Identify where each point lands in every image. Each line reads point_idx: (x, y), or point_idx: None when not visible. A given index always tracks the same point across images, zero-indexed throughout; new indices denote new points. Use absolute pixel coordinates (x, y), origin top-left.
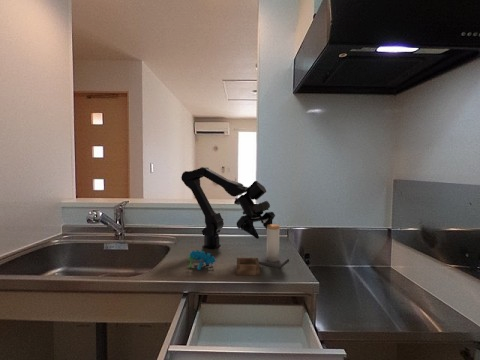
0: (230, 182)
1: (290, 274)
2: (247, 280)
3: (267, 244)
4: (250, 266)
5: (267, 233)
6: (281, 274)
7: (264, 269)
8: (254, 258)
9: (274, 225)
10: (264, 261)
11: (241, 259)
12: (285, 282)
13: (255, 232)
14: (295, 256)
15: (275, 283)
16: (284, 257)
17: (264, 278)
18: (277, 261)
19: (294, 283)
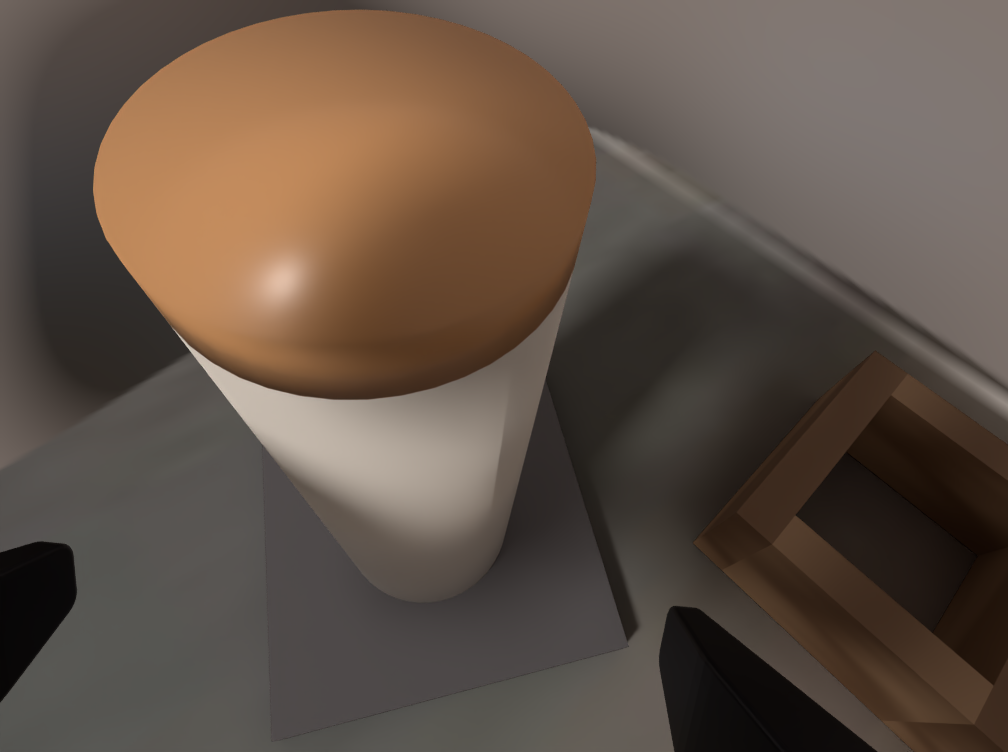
0: None
1: (583, 248)
2: (968, 408)
3: (516, 485)
4: (959, 418)
5: (535, 392)
6: (640, 291)
7: (682, 450)
8: (793, 534)
9: (308, 129)
10: (560, 550)
11: (964, 666)
12: (723, 213)
13: (813, 711)
14: (86, 428)
15: (795, 246)
16: (264, 456)
17: (814, 339)
18: None
19: (684, 174)
